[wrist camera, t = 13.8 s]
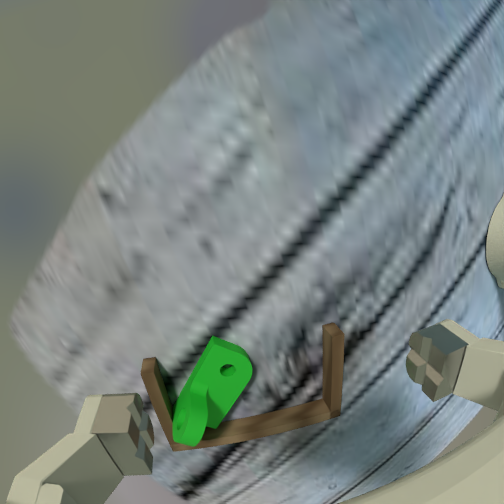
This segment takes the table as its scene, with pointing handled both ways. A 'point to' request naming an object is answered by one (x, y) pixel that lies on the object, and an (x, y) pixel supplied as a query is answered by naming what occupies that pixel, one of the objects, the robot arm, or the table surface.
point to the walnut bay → (263, 422)
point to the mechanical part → (210, 390)
